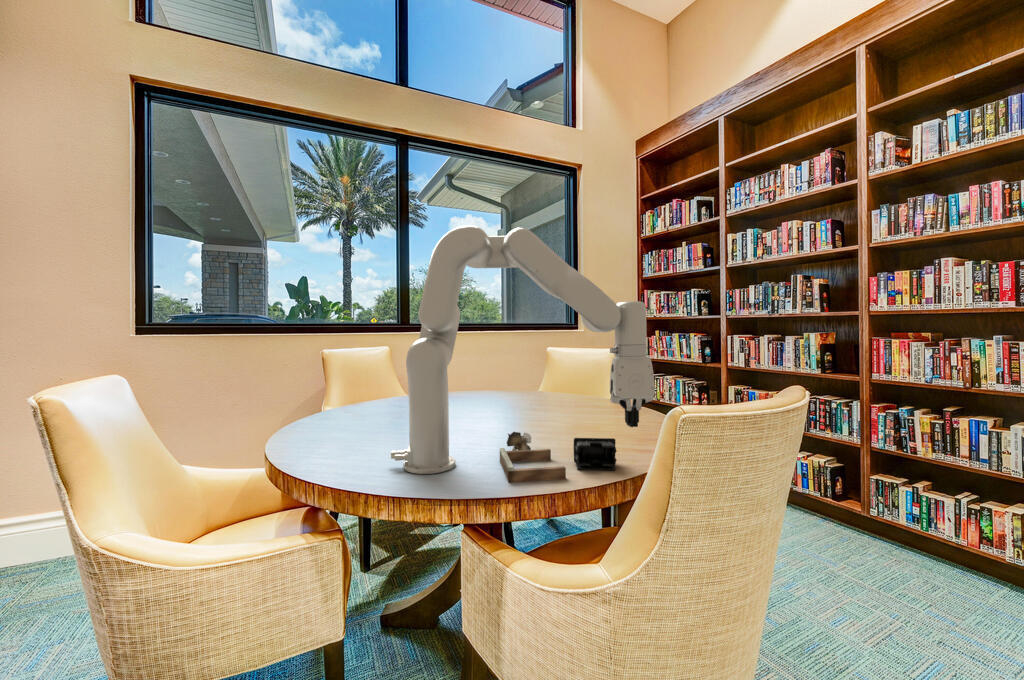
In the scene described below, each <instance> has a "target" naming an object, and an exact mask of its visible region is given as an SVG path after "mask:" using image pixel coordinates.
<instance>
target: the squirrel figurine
mask: <svg viewBox="0 0 1024 680" xmlns="http://www.w3.org/2000/svg"><path fill="white" fill-rule="evenodd" d="M507 435H508V437H507V441H506V445H507V447H512V449H511V450H510V451H516V450H532V449H531V447H530V445H528V444H531V443H532V436H531V435H530V433H528V432H524V433H523V435H522V433H521V432H518V431H517V432H516V431H513V432H512V433H507Z"/></svg>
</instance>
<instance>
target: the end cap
mask: <svg viewBox="0 0 1024 680" xmlns="http://www.w3.org/2000/svg"><path fill="white" fill-rule="evenodd" d="M617 451H618V450H617V447H616V438H613V437H612V438H609V437H607V438H606V437H602V438H601V437H597V438H596V437H574V438H573V462H574V463H575V466H576V470H577V471H587V472H591V471H593V472H616V467H615V466H616V465H617V458H616V454H617Z"/></svg>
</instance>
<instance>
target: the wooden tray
mask: <svg viewBox="0 0 1024 680" xmlns="http://www.w3.org/2000/svg"><path fill="white" fill-rule="evenodd" d="M551 450H552V449H550V448H544V449H543V448H542V449H540V448H539V449H537V448H536V449H531V450H518V449H517V450H516V451H511V450H506V449H505V448H504V447H501V448H499V463H500V465H501V468H502V470H503V472H504V475H505V477H506V481H507V482H508V483H521V482H538V481H539V482H540V481H555V480H566V478H567V477H566V476H567V474H566V473H567V468H566V467H565V466H549V467H545V466H544V467H530V468H529V467H527V468H525V467H524V468H514V464H513V463H514V462H517V463H518V462H534V461H535V462H537V461H551V460H552V458H551V457H552V456H551V453H552V452H551ZM512 462H513V463H512Z"/></svg>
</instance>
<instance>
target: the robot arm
mask: <svg viewBox="0 0 1024 680" xmlns="http://www.w3.org/2000/svg"><path fill="white" fill-rule="evenodd" d="M466 267H469V268H473V269H509V268H510V269H512V268H514V269H515V268H518V269H520V271H521V272H523V273H524V274H525V275H526V276H528V277H529V278H530V279H531V280H532V281H533V282H534V283H535V284H536V285H537V286H538V287H540V288H541V289H542V290H543V291H544V292H546V293H547V294H548V295H550V296H551V297H554V298H556V299H559V300H561V301H562V302H564V304H567V305H568V306H569V307H571V308H572V309H573V310H574V311H575V312H576V313H578V314H579V315H580V316H581V323H582V324H583V326H584V327H585V328H586V329H587V330H589V331H591V332H595V333H609V332H612V331H614V345H613V347H610V348H609V353H610V354H613V355H614V356H615V357H614V356H613V357H612V360H611V365H610V373H609V376H610V377H609V394H610V398H609V402H610V403H613V404H615V405H616V404H617V405H620V407H622V408H623V409H624V422H625V423H626V426H628V427H630V428H638V427H639V422H640V410H641V409H642V407H643V406H644V405H645V404H646V403H649V402H653V401H654V396H655V394H656V393H655V391H656V387H655V384H656V383H655V376H654V369H653V363H652V359H651V357H650V356H648V350H647V346H648V344H647V343H648V337H647V306H646V303H644V302H643V301H639V300H638V301H637V300H630V301H629V300H628V301H620V302H619V301H618V302H617V303H616V301H614V300H613V299H612V298H611V297H610V296H608V295H607V293H605V292H604V291H603V290H602V289H601V288H600V287H598V286H597V284H595V283H594V282H593V281H591V280H590V279H588V278H587V277H586V276H584V275H583V274H582V273H580V272H579V271H578V270H576V268H574V267H572V266H570V265H569V264H568V263H567V262H566V261H565V260H563V259H562V257H561V256H559V255H558V254H557V253H556V252H555V251H554V250H553V249H551V247H549V246H548V245H547V244H546V243H545V242H544V241H542V239H541V238H539V237H538V236H537V235H536V234H535V233H534V232H532V231H531V230H529V229H528V228H527V227H526V228H525V227H516V228H513V229H511V230H510V231H509V232H508V233H507V234H506V235H488V234H487V233H486V231H485V230H483V229H482V228H480V227H479V226H475V225H470V224H469V225H468V224H467V225H461V226H458V227H455V228H453V229H451V230H449V231H448V232H447V233H445V234H444V235H443V236H442V237H441V238H440V239H439V241H438V242H437V243H436V245H435V247H434V248H433V251H432V254H431V257H430V261H429V265H428V268H427V274H426V278H425V280H424V281H425V282H424V286H423V291H422V294H421V295H422V297H421V299H420V304H419V308H418V313H417V315H418V320H419V323H420V324H421V328H420V333H419V338H418V339H417V340H415V342H413V343H412V344H411V346H410V347H409V348H408V351H407V354H406V361H405V364H406V375H407V385H408V386H407V387H408V416H409V417H408V424H409V425H408V426H409V428H408V429H409V445H408V448H405V449H404V450H391V451H390V460H391V459H392V460H394V461H395V462H396V461H398V462H399V461H403V465H402V468H403V470H404V471H406V472H408V473H411V474H415V475H416V474H417V475H432V474H437V473H440V474H441V473H444V472H447V471H450V470H452V469H454V467H455V466H456V459H455V458H454V457H453V456H451V455H450V429H449V428H450V423H449V421H450V419H449V417H450V415H449V407H450V404H449V384H448V382H449V380H448V379H449V378H448V376H449V375H448V366H449V365H450V363H451V361H452V359H453V355H454V349H455V345H456V338H457V335H458V330H459V326H460V325H459V324H460V320H461V319H460V318H461V312H460V307H459V306H458V301H459V296H460V291H461V290H460V289H461V287H462V282H463V277H464V273H465V269H466ZM631 400H632V401H631Z"/></svg>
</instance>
